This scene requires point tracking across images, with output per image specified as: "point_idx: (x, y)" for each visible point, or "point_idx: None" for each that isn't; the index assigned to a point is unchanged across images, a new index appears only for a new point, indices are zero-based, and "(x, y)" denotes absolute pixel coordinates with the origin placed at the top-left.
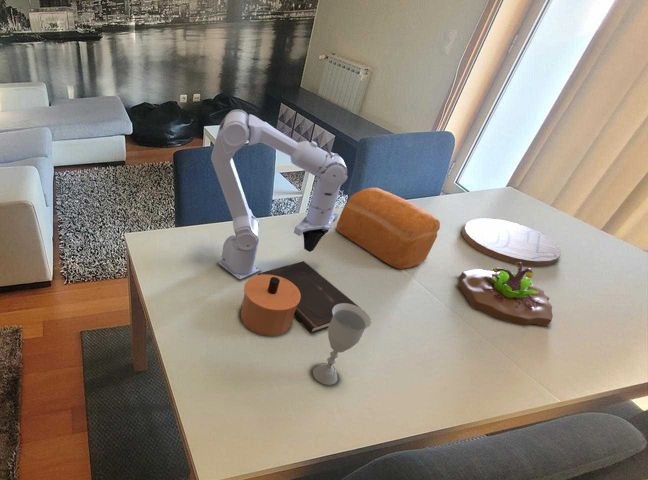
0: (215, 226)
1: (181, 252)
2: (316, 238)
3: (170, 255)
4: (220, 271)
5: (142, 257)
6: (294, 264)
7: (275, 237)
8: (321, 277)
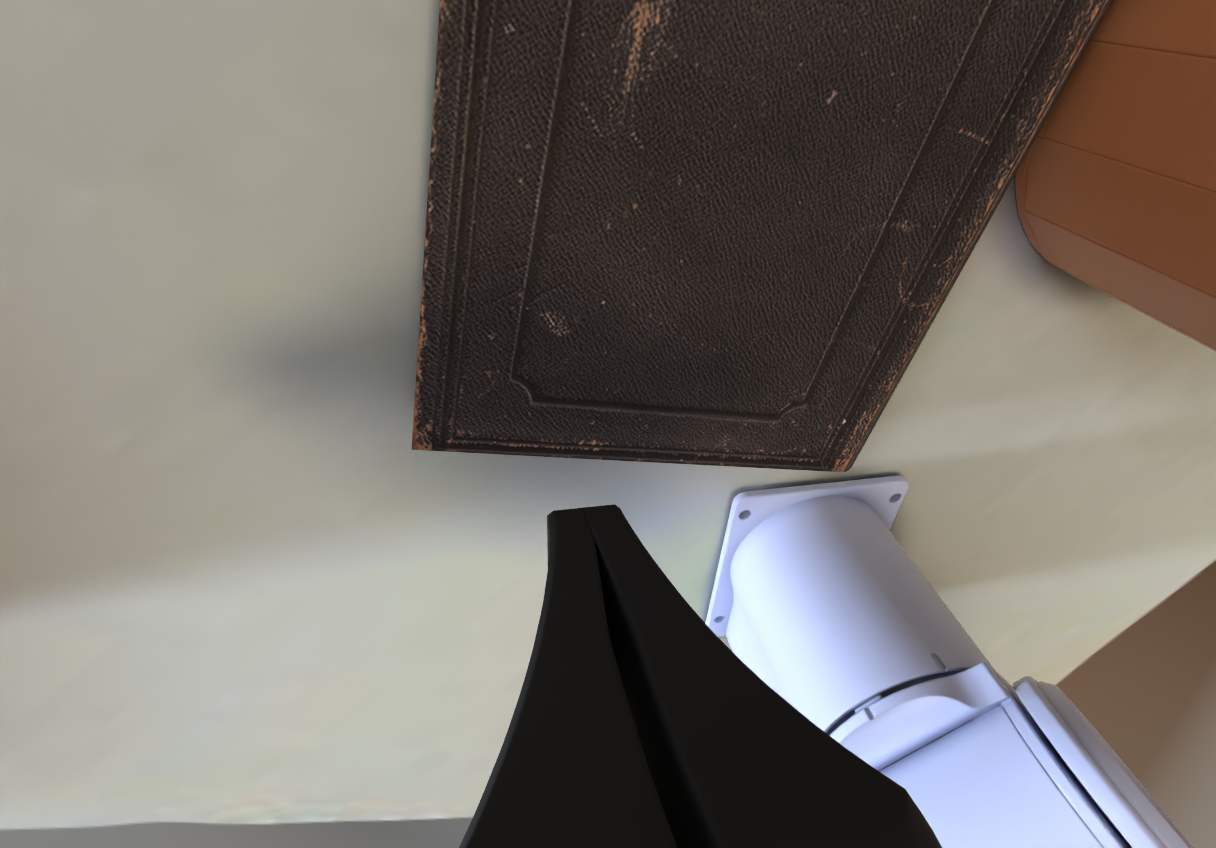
0: None
1: None
2: (756, 727)
3: None
4: None
5: None
6: (535, 445)
7: (335, 696)
8: (457, 173)
